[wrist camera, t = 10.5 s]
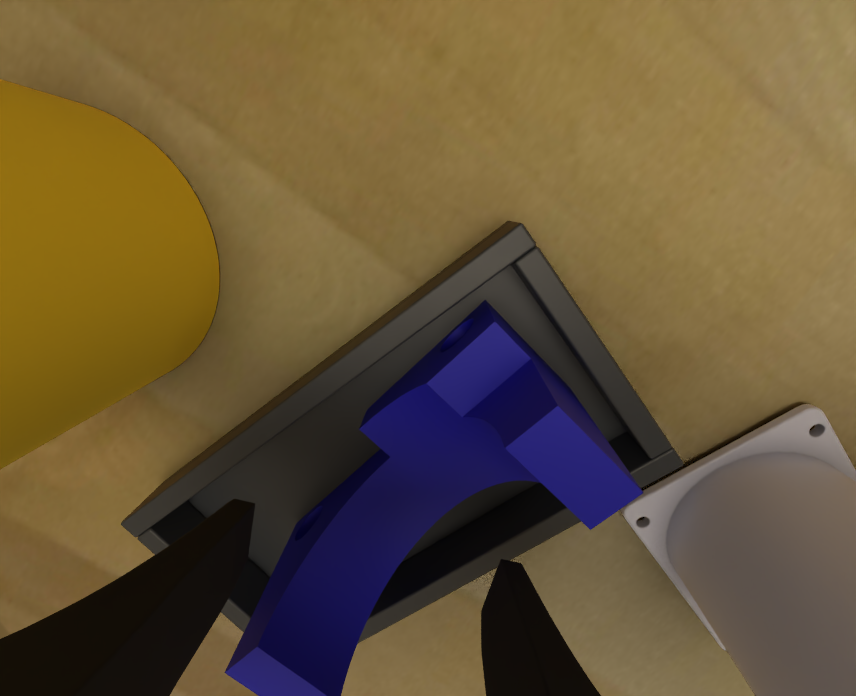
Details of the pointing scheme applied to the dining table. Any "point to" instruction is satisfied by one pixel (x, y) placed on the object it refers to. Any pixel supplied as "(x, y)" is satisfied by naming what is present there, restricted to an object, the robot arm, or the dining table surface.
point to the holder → (350, 448)
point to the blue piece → (422, 495)
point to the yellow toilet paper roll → (90, 266)
